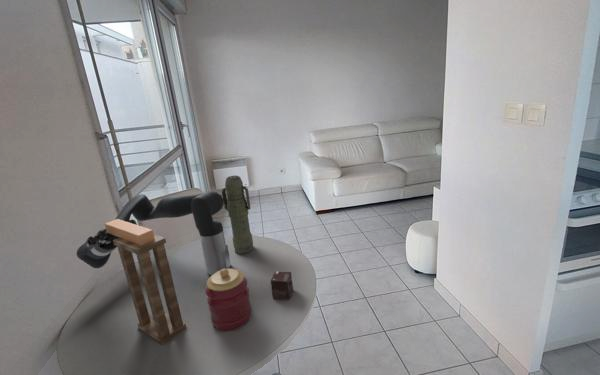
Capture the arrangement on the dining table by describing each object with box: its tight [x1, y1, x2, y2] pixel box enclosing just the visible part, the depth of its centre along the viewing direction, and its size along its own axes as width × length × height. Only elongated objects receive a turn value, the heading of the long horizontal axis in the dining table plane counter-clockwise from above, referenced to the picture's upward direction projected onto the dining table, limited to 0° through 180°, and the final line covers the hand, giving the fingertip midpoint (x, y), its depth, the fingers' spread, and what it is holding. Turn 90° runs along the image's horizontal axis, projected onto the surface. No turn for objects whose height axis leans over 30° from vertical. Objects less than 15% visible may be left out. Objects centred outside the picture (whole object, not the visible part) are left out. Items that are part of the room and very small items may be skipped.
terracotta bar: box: [104, 218, 155, 245], centre depth 92 cm, size 20×4×3 cm, turn 55°
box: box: [270, 271, 294, 300], centre depth 108 cm, size 6×6×7 cm
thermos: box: [221, 175, 254, 255], centre depth 139 cm, size 9×12×35 cm
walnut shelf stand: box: [113, 233, 187, 345], centre depth 94 cm, size 14×8×31 cm, turn 55°
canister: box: [204, 268, 253, 332], centre depth 97 cm, size 13×13×18 cm
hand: (119, 227), depth 94 cm, fingers open, 8 cm apart
